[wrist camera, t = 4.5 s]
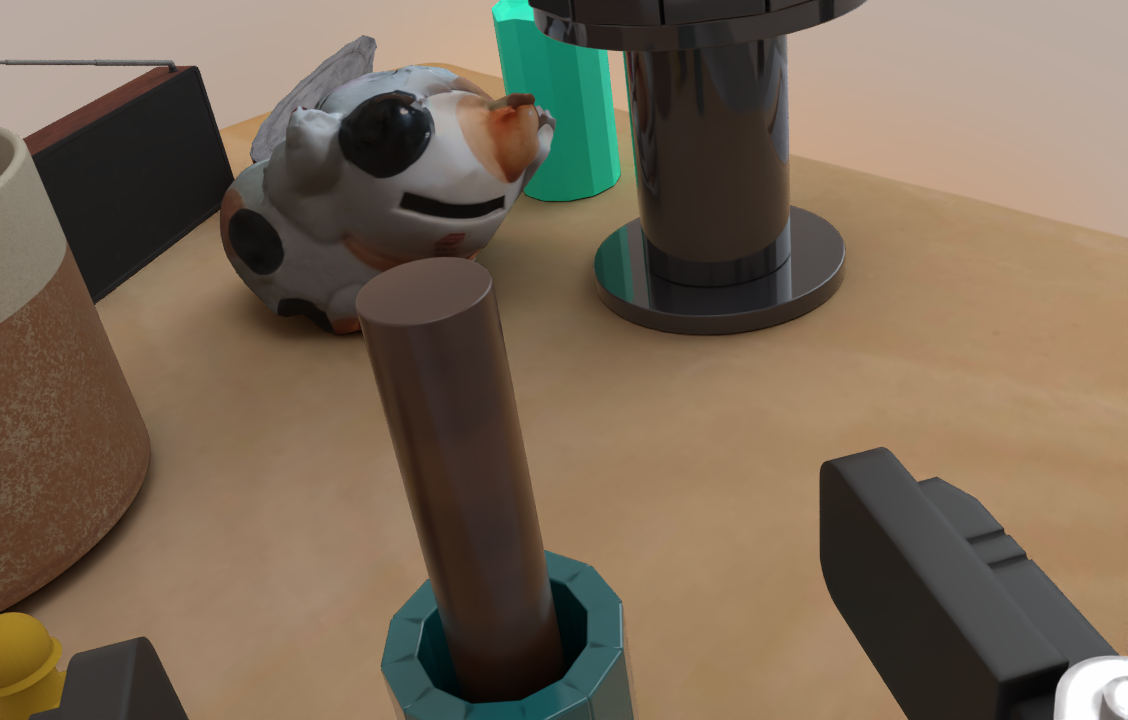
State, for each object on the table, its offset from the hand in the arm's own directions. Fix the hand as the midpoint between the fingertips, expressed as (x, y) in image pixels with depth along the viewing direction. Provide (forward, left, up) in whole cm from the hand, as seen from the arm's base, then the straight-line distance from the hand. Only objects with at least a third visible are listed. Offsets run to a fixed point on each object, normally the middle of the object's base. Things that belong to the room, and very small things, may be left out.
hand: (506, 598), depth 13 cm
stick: (+5, -5, -15) cm, 17 cm away
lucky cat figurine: (+29, -29, -16) cm, 44 cm away
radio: (+47, -25, -16) cm, 56 cm away
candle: (+27, -42, -16) cm, 53 cm away
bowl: (+14, -35, -16) cm, 41 cm away
